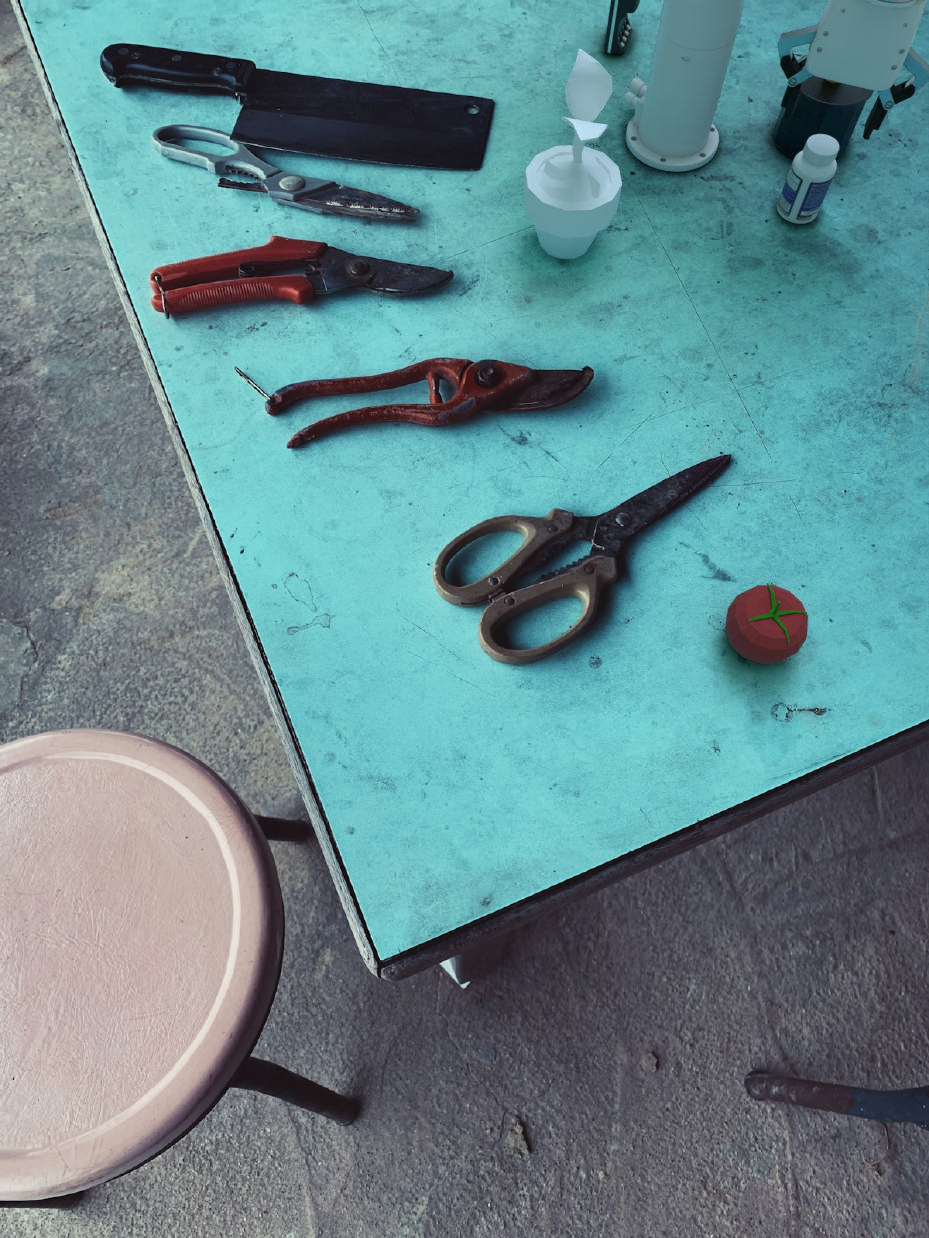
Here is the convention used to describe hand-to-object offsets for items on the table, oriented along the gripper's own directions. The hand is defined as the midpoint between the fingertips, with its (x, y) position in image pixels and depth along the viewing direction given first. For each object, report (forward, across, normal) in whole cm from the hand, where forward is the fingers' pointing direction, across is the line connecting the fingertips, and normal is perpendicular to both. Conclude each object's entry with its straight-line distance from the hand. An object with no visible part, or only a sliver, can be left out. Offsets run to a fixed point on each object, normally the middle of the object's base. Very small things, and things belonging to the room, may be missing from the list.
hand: (826, 122), depth 111 cm
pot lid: (+4, 0, -14) cm, 15 cm away
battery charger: (+14, +29, -26) cm, 42 cm away
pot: (+12, 0, -14) cm, 19 cm away
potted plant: (+13, +26, +16) cm, 34 cm away
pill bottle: (+12, -1, 0) cm, 13 cm away
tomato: (+12, -7, +64) cm, 65 cm away
